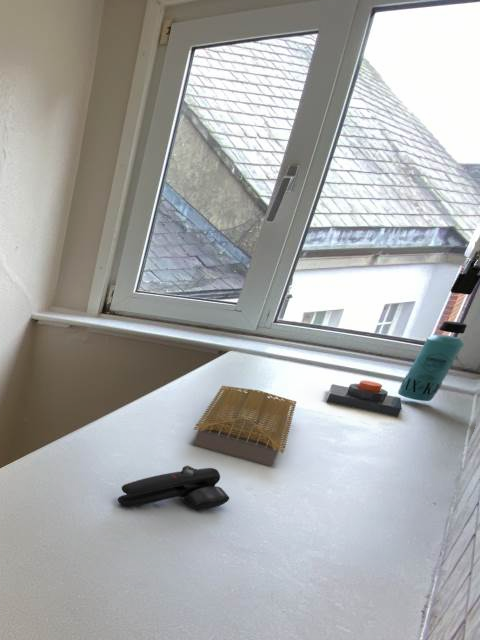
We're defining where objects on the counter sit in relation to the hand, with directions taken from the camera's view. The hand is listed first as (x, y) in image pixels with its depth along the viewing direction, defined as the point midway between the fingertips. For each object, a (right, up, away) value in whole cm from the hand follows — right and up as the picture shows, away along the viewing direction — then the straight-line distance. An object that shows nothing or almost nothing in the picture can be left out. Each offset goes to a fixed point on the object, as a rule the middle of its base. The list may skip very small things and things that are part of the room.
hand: (460, 293), depth 120 cm
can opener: (-84, -43, -32) cm, 100 cm away
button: (-9, -20, +12) cm, 25 cm away
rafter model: (-51, -30, -4) cm, 59 cm away
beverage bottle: (+6, -23, +16) cm, 28 cm away
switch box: (-9, -23, +13) cm, 28 cm away
